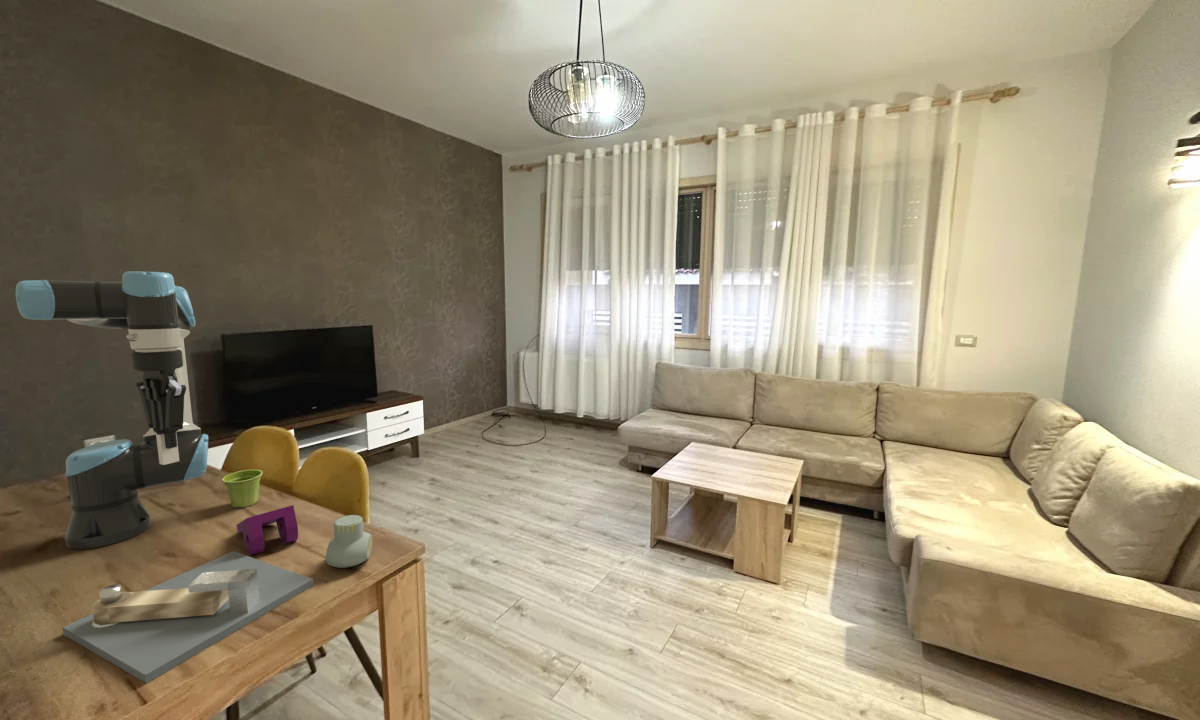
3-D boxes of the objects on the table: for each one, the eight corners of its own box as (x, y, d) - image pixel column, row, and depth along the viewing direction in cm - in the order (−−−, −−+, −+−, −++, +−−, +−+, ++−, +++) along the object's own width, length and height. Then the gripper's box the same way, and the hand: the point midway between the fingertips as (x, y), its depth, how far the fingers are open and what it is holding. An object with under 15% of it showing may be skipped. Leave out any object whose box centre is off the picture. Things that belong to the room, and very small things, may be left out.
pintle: (85, 622, 86) (81, 593, 85) (125, 604, 91) (122, 576, 90) (101, 631, 84) (97, 601, 83) (141, 612, 89) (138, 583, 88)
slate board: (63, 634, 85) (62, 627, 85) (233, 557, 111) (233, 551, 111) (146, 683, 75) (145, 674, 75) (313, 585, 100) (312, 578, 100)
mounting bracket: (239, 559, 120) (253, 554, 109) (233, 526, 122) (246, 518, 110) (282, 545, 127) (300, 538, 116) (276, 514, 129) (293, 505, 117)
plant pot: (270, 501, 140) (268, 473, 139) (233, 513, 132) (230, 484, 131) (256, 494, 145) (253, 467, 144) (219, 505, 137) (216, 477, 136)
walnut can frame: (79, 494, 143) (78, 485, 143) (157, 473, 161) (156, 465, 160) (112, 506, 136) (111, 496, 136) (190, 482, 154) (189, 473, 153)
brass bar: (85, 625, 85) (83, 610, 84) (110, 607, 90) (108, 592, 89) (212, 615, 88) (211, 600, 87) (229, 598, 93) (228, 584, 92)
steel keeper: (191, 617, 88) (187, 585, 87) (205, 603, 92) (202, 572, 91) (248, 612, 89) (245, 580, 89) (259, 599, 93) (256, 568, 92)
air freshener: (365, 571, 106) (363, 529, 105) (324, 576, 104) (321, 534, 102) (374, 546, 116) (372, 507, 115) (336, 551, 114) (334, 512, 113)
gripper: (114, 349, 94) (129, 463, 97) (151, 353, 89) (165, 473, 92) (161, 346, 101) (173, 452, 104) (197, 349, 96) (209, 461, 99)
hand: (169, 462), depth 98 cm, fingers closed
